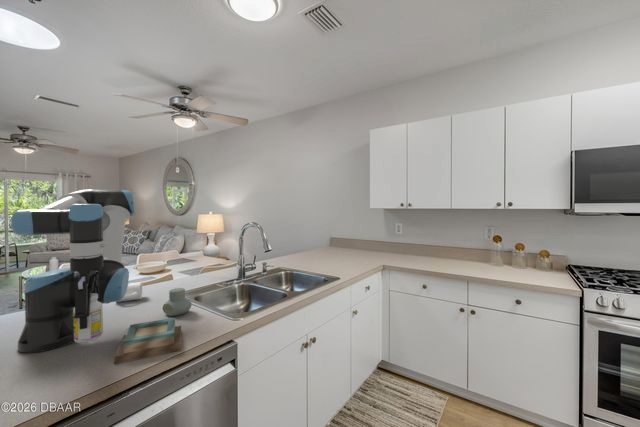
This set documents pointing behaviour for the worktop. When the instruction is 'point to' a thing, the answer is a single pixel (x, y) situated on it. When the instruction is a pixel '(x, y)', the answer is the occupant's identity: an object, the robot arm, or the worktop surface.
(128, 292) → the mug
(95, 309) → the supplement bottle
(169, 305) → the green pipe tee
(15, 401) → the worktop surface
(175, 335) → the display stand
